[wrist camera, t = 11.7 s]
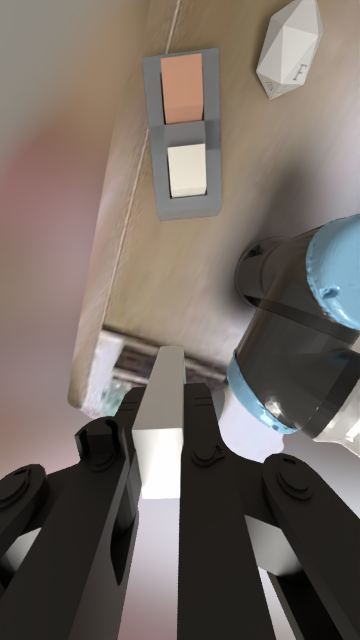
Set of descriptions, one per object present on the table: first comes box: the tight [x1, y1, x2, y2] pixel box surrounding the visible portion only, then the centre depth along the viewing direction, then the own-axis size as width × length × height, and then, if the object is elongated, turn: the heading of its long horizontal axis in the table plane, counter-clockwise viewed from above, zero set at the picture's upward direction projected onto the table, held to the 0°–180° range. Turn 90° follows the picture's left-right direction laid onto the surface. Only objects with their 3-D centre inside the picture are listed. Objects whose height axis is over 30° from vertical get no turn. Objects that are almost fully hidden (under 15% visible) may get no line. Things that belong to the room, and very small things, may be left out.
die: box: [256, 0, 324, 100], centre depth 27 cm, size 8×9×10 cm
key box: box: [142, 47, 222, 221], centre depth 31 cm, size 12×22×4 cm, turn 4°
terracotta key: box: [161, 53, 203, 125], centre depth 28 cm, size 6×6×5 cm
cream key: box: [168, 144, 207, 199], centre depth 31 cm, size 6×6×5 cm
